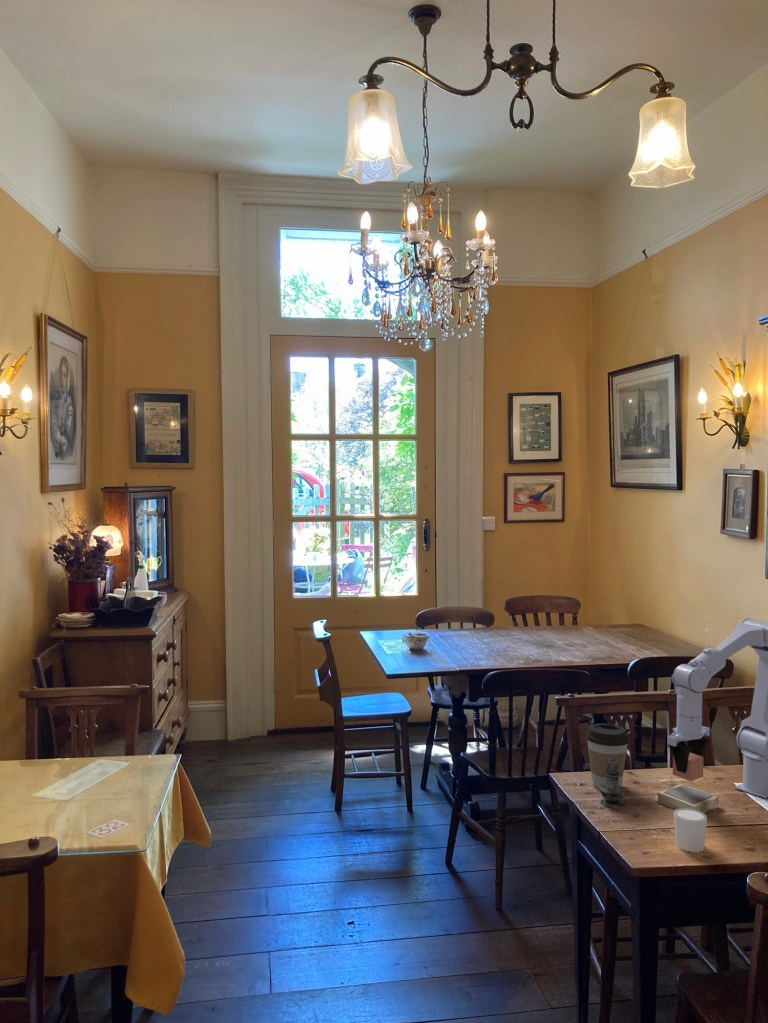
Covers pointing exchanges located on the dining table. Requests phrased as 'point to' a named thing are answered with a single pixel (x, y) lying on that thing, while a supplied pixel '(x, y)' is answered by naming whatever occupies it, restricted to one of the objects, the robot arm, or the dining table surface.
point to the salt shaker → (612, 785)
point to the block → (691, 768)
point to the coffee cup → (606, 750)
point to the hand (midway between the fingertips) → (688, 769)
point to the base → (688, 798)
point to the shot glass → (690, 829)
